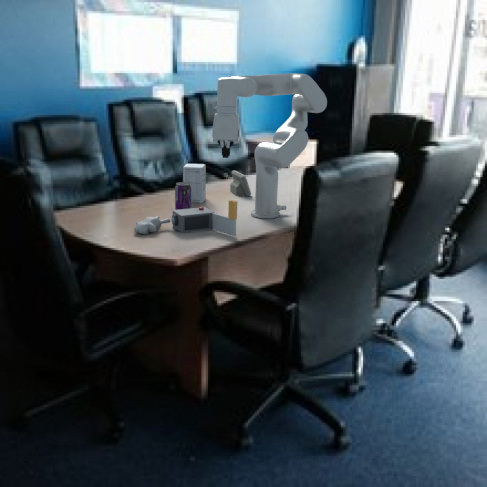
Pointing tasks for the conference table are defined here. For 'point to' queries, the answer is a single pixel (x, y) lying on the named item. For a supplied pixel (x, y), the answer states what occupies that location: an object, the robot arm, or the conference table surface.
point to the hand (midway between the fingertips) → (225, 157)
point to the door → (226, 220)
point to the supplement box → (196, 181)
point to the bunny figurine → (149, 225)
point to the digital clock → (239, 184)
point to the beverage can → (182, 196)
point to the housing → (192, 219)
